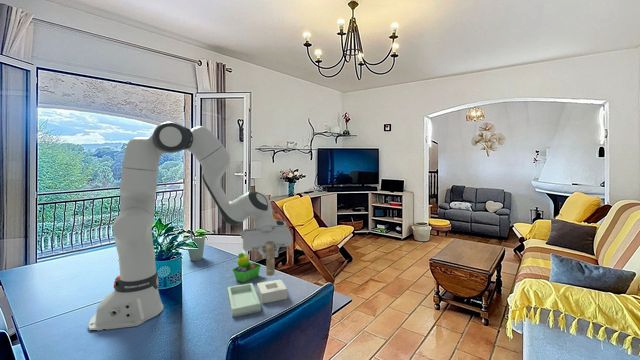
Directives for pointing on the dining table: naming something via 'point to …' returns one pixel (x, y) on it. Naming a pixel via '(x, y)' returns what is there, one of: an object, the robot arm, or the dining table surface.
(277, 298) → the socket block
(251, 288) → the tray
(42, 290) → the dining table surface
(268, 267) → the dowel
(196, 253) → the beige plant pot
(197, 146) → the robot arm
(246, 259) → the fruit basket
